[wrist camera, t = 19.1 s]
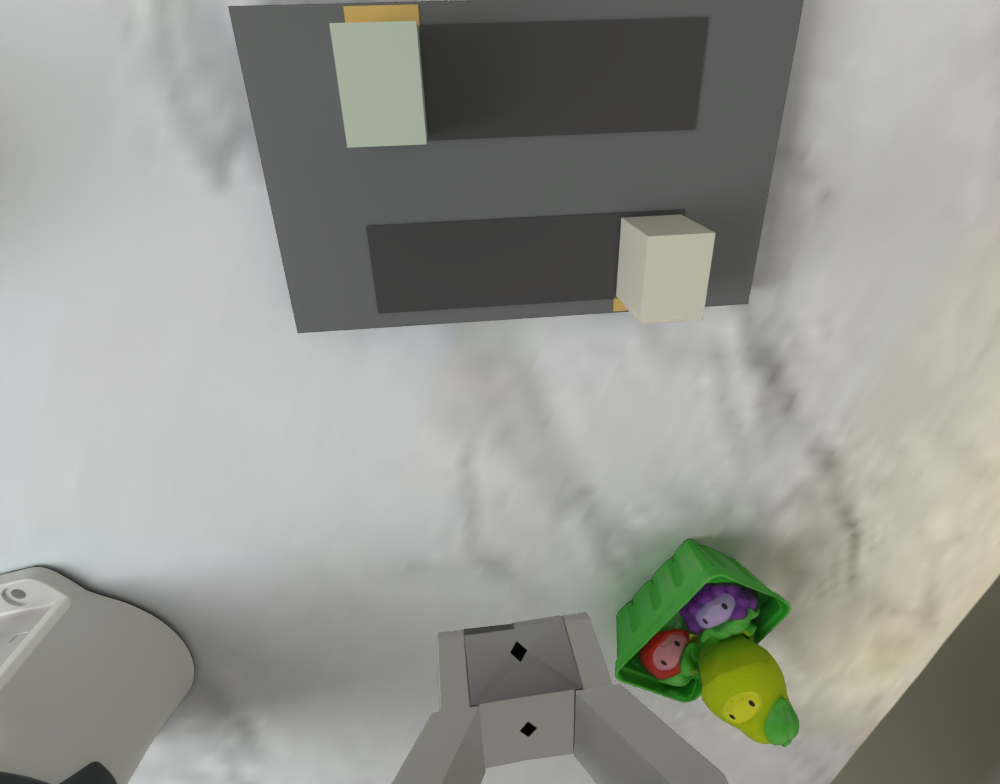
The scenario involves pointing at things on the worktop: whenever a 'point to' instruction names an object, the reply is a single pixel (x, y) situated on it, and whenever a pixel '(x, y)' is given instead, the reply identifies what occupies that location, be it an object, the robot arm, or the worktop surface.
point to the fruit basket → (708, 642)
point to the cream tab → (664, 267)
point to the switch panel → (516, 152)
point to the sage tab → (380, 83)
